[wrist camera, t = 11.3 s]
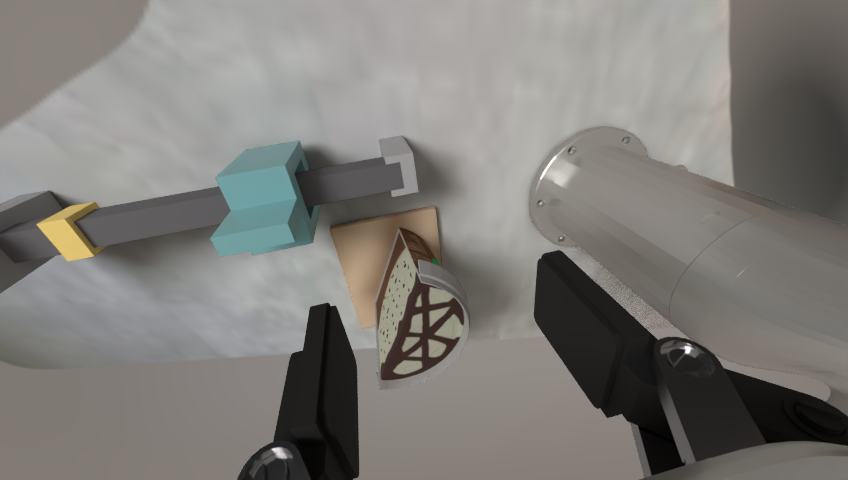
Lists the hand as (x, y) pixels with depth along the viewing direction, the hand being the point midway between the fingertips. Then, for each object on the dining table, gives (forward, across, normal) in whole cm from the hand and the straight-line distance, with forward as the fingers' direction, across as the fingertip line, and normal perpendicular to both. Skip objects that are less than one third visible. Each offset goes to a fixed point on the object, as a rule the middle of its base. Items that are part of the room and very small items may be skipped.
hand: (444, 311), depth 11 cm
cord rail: (+20, +12, 0) cm, 23 cm away
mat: (+20, +2, +12) cm, 23 cm away
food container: (+19, 0, +12) cm, 23 cm away
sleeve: (+18, +9, 0) cm, 20 cm away
